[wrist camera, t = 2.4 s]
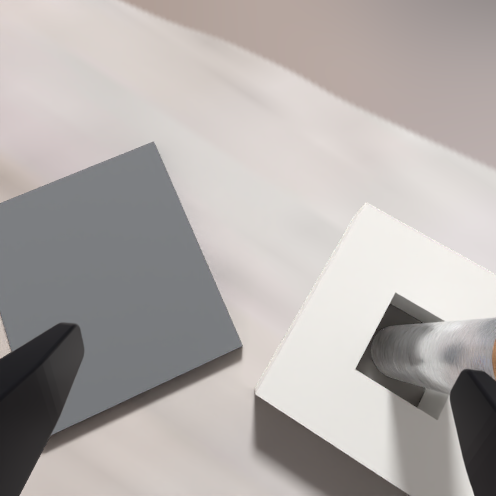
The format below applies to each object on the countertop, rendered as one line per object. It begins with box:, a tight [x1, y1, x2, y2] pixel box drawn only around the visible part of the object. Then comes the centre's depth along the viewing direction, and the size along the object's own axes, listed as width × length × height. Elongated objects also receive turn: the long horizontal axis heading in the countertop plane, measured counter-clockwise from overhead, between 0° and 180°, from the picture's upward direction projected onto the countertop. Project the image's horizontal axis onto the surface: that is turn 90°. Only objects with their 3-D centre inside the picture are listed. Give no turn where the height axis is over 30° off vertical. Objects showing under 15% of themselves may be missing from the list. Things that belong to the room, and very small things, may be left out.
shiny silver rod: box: [371, 318, 496, 395], centre depth 15 cm, size 3×3×14 cm
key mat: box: [0, 142, 243, 435], centre depth 23 cm, size 14×12×1 cm
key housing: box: [255, 202, 496, 496], centre depth 21 cm, size 12×12×2 cm
